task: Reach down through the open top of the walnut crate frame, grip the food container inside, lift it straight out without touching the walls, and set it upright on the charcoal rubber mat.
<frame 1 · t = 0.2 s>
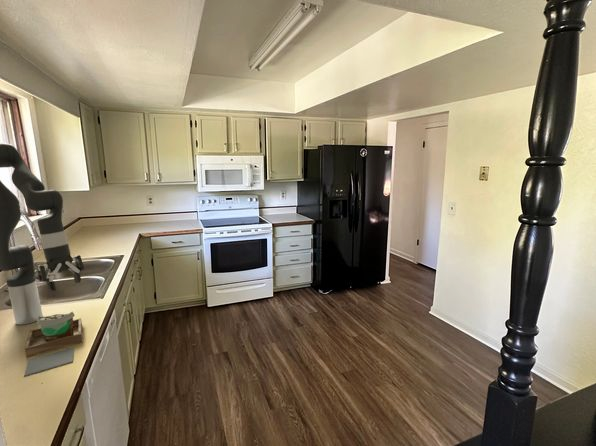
hand: (66, 286, 119), 22 cm above the counter, tool pointing down, fingers open, 8 cm apart
rubber mat: (50, 361, 111), on the counter
crate frame: (56, 340, 124), on the counter
food container: (56, 340, 124), resting in crate frame
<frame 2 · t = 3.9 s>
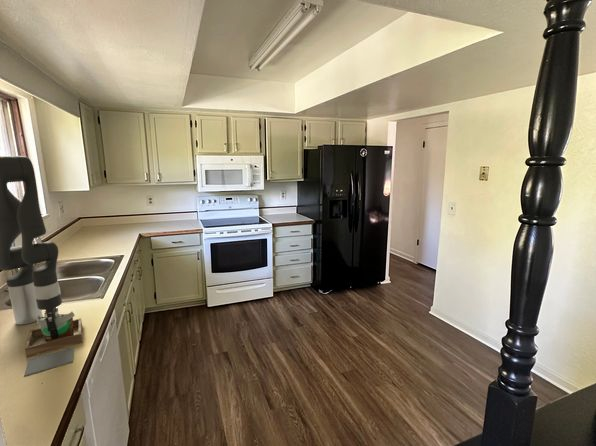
hand: (55, 334, 124), 2 cm above the counter, tool pointing down, fingers closed on food container, 5 cm apart
food container: (56, 340, 124), resting in crate frame, touching gripper
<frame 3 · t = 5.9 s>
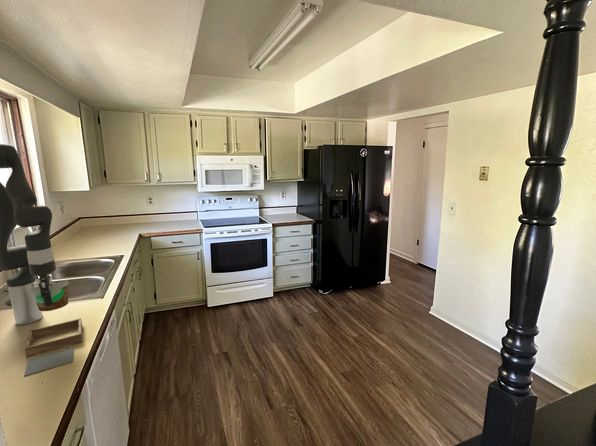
hand: (49, 302, 121), 16 cm above the counter, tool pointing down, fingers closed on food container, 5 cm apart
food container: (50, 309, 121), point 13 cm above the counter, touching gripper
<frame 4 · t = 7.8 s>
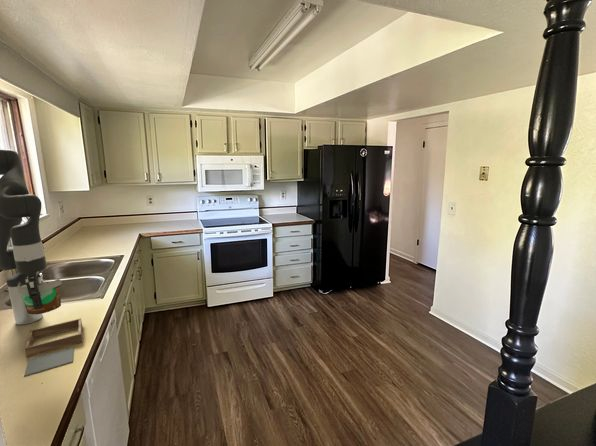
hand: (39, 304, 107), 22 cm above the counter, tool pointing down, fingers closed on food container, 5 cm apart
food container: (41, 312, 107), point 19 cm above the counter, touching gripper
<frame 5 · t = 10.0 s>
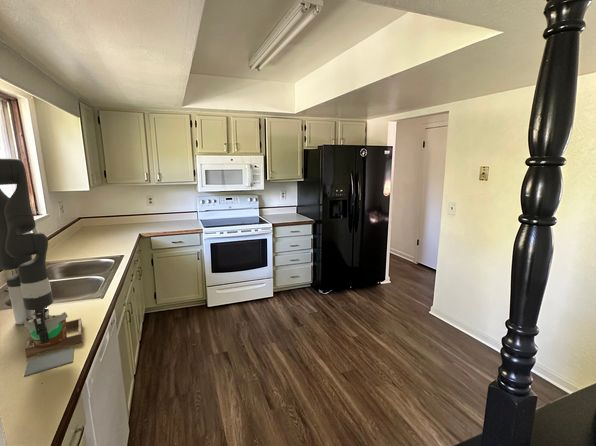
hand: (46, 338, 110), 9 cm above the counter, tool pointing down, fingers closed on food container, 5 cm apart
food container: (47, 345, 109), point 7 cm above the counter, touching gripper
when the fingers open (4 cm above the counter, at t = 12.0 s): food container moves 1 cm, resting on rubber mat.
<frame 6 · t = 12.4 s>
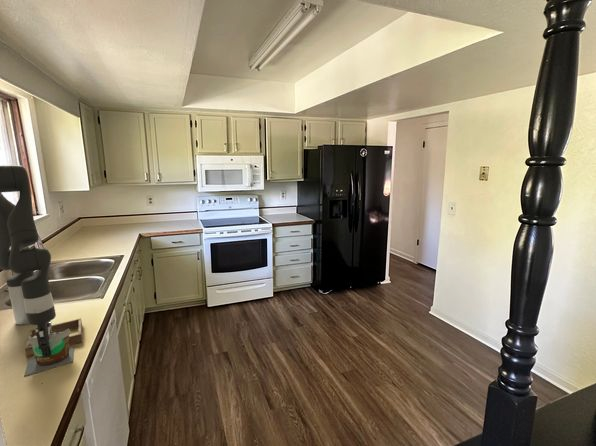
hand: (48, 350, 110), 4 cm above the counter, tool pointing down, fingers open, 8 cm apart
food container: (49, 362, 110), point 1 cm above the counter, touching gripper, rubber mat
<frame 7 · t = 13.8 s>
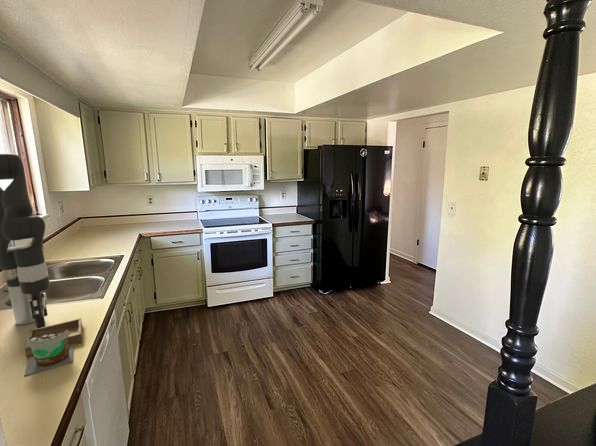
hand: (42, 321, 108), 15 cm above the counter, tool pointing down, fingers open, 8 cm apart
food container: (49, 363, 110), resting on rubber mat
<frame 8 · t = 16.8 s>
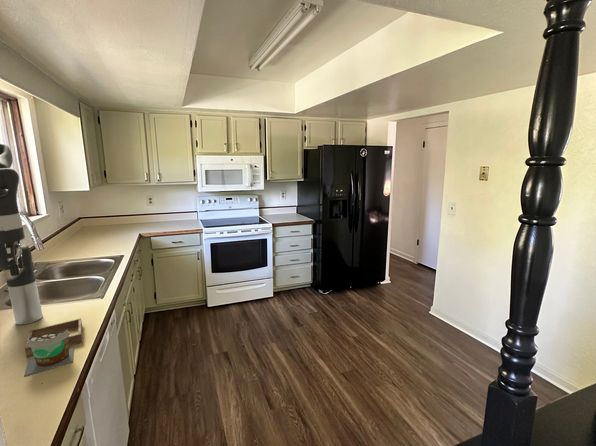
hand: (17, 271, 113), 30 cm above the counter, tool pointing down, fingers open, 8 cm apart
nothing on the counter moved.
at the end: food container inside the target area (1.6 cm from its centre), resting on rubber mat; food container tilted 0°; the gripper is holding nothing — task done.
